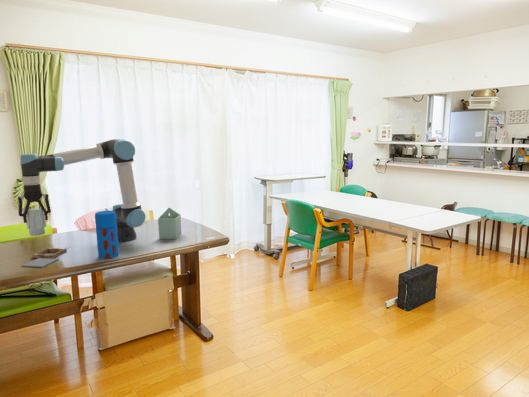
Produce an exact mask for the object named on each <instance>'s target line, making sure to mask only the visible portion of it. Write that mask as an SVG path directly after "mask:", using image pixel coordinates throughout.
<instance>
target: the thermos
mask: <svg viewBox="0 0 529 397" xmlns="http://www.w3.org/2000/svg"><path fill="white" fill-rule="evenodd" d="M94 219H95V232H96V233H95V234H96V243H97V244H96V245H97V246H96V247H97V253H98V254H97V255H98V258H99V259H103V260H106V259H107V260H108V259H113V258H114V259H115V258H117V257H119V254H120V253H119V250H120V249H119V248H120V247H119V241H118V235H117V222H116V213H115V211H112V210H101V211H96V212H95V213H94Z"/></svg>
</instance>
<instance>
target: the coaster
mask: <svg viewBox="0 0 529 397" xmlns="http://www.w3.org/2000/svg"><path fill="white" fill-rule="evenodd" d="M57 261H59V258H53V259H50V258H35V259H34V260H32V261H28V262H26V263H24V264H22V265H21V267H22V268H23V267H24V268H45V267H47V266H49V265H51V264H53V263H55V262H57Z"/></svg>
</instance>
